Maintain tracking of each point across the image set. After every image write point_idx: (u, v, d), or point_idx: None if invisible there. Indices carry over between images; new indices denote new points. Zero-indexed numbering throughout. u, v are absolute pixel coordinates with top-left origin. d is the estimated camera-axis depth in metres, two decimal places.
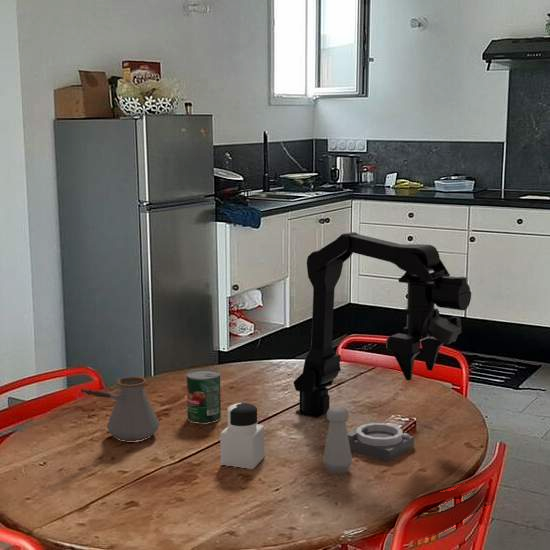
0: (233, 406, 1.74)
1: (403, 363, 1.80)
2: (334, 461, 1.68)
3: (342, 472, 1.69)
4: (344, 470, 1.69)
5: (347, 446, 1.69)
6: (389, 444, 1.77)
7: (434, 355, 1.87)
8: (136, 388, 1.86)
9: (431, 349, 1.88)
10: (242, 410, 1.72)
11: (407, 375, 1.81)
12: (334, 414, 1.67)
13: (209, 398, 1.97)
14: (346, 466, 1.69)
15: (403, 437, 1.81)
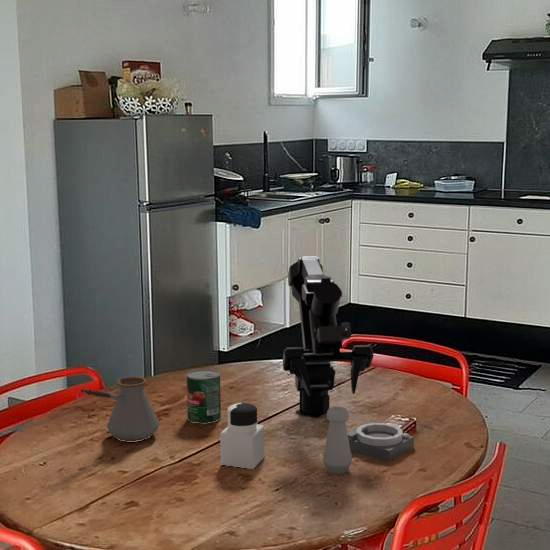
0: (233, 406, 1.74)
1: (302, 379, 1.79)
2: (334, 461, 1.68)
3: (342, 472, 1.69)
4: (344, 470, 1.69)
5: (347, 446, 1.69)
6: (389, 444, 1.77)
7: (353, 375, 1.78)
8: (136, 388, 1.86)
9: (352, 372, 1.79)
10: (242, 410, 1.72)
11: (307, 390, 1.76)
12: (334, 414, 1.67)
13: (209, 398, 1.97)
14: (346, 466, 1.69)
15: (403, 437, 1.81)
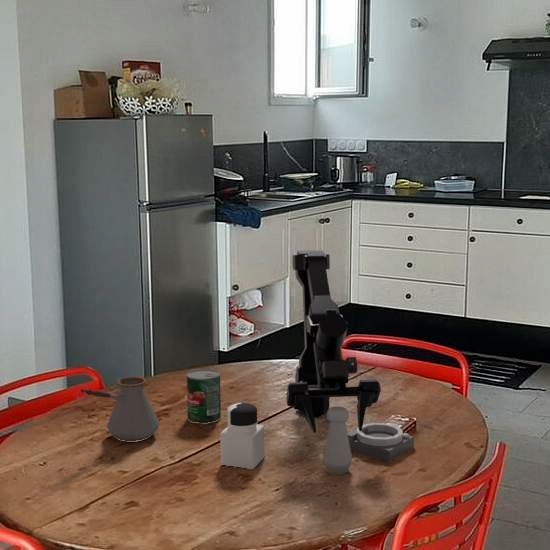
0: (233, 406, 1.74)
1: (306, 415, 1.72)
2: (334, 461, 1.68)
3: (342, 472, 1.69)
4: (344, 470, 1.69)
5: (347, 446, 1.69)
6: (389, 444, 1.77)
7: (359, 412, 1.71)
8: (136, 388, 1.86)
9: (358, 408, 1.73)
10: (242, 410, 1.72)
11: (311, 427, 1.70)
12: (334, 414, 1.67)
13: (209, 398, 1.97)
14: (346, 466, 1.69)
15: (403, 437, 1.81)
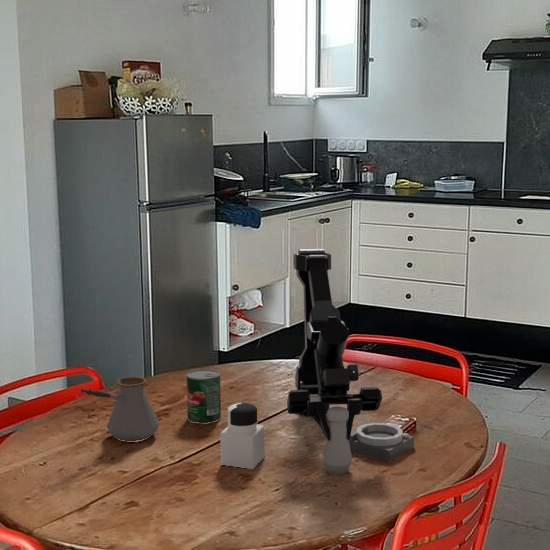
0: (233, 406, 1.74)
1: (320, 423, 1.71)
2: (334, 461, 1.68)
3: (342, 472, 1.69)
4: (344, 470, 1.69)
5: (347, 446, 1.69)
6: (389, 444, 1.77)
7: (347, 420, 1.70)
8: (136, 388, 1.86)
9: None
10: (242, 410, 1.72)
11: (325, 434, 1.69)
12: (334, 414, 1.67)
13: (209, 398, 1.97)
14: (346, 466, 1.69)
15: (403, 437, 1.81)
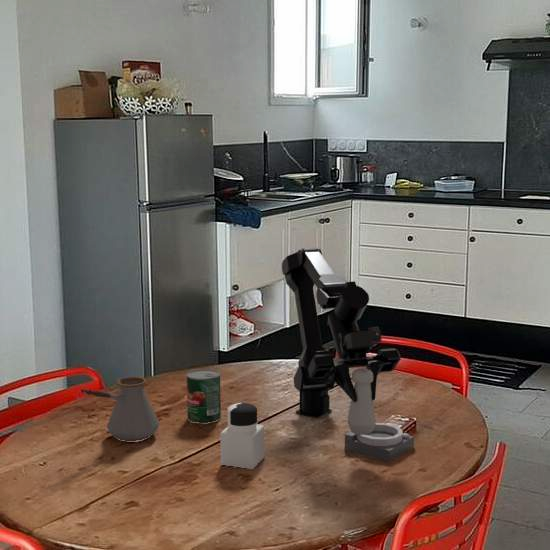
0: (233, 406, 1.74)
1: (344, 386, 1.74)
2: (361, 422, 1.72)
3: (368, 432, 1.73)
4: (369, 430, 1.73)
5: (372, 406, 1.73)
6: (389, 444, 1.77)
7: None
8: (136, 388, 1.86)
9: None
10: (242, 410, 1.72)
11: (352, 396, 1.72)
12: (361, 376, 1.71)
13: (209, 398, 1.97)
14: (372, 426, 1.73)
15: (403, 437, 1.81)
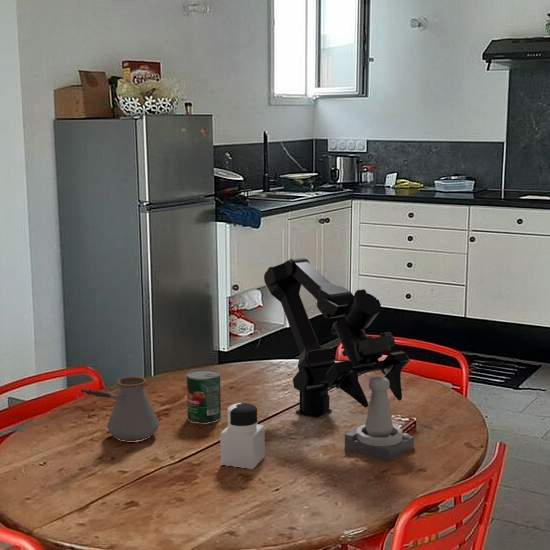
0: (233, 406, 1.74)
1: (353, 392, 1.79)
2: (381, 428, 1.79)
3: None
4: (388, 435, 1.81)
5: (389, 412, 1.80)
6: (389, 444, 1.77)
7: (396, 383, 1.82)
8: (136, 388, 1.86)
9: (392, 380, 1.84)
10: (242, 410, 1.72)
11: (363, 402, 1.77)
12: (380, 384, 1.78)
13: (209, 398, 1.97)
14: (391, 430, 1.80)
15: (403, 437, 1.81)
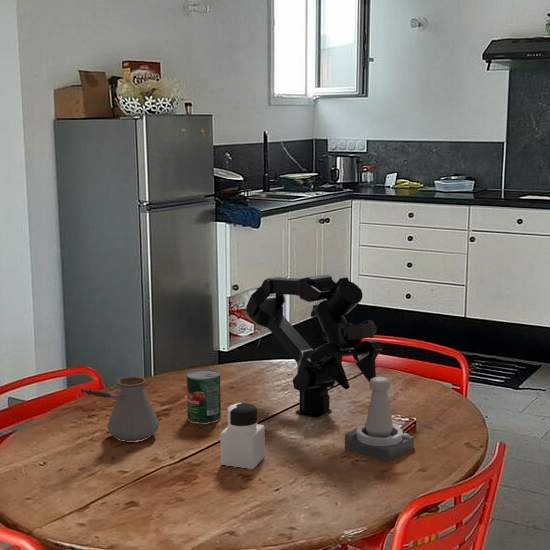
0: (233, 406, 1.74)
1: (335, 374, 1.86)
2: (382, 428, 1.79)
3: None
4: (388, 435, 1.81)
5: (389, 412, 1.80)
6: (389, 444, 1.77)
7: (371, 369, 1.93)
8: (136, 388, 1.86)
9: (367, 366, 1.94)
10: (242, 410, 1.72)
11: (344, 384, 1.85)
12: (381, 384, 1.78)
13: (209, 398, 1.97)
14: None
15: (403, 437, 1.81)
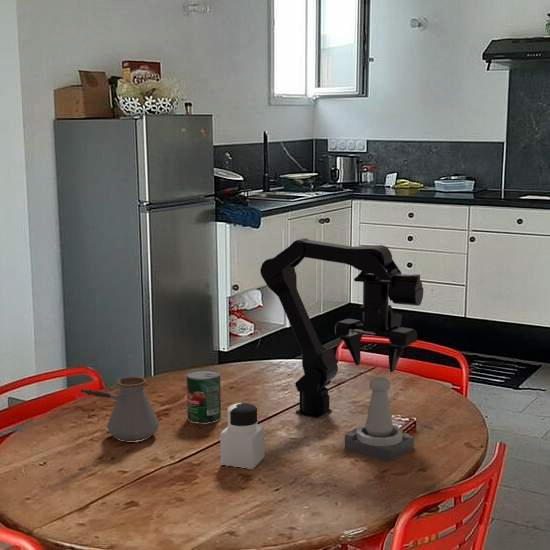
0: (233, 406, 1.74)
1: (395, 356, 1.91)
2: (382, 428, 1.79)
3: None
4: (388, 435, 1.81)
5: (389, 412, 1.80)
6: (389, 444, 1.77)
7: (359, 349, 1.99)
8: (136, 388, 1.86)
9: (357, 345, 1.98)
10: (242, 410, 1.72)
11: (394, 367, 1.93)
12: (381, 384, 1.78)
13: (209, 398, 1.97)
14: None
15: (403, 437, 1.81)
